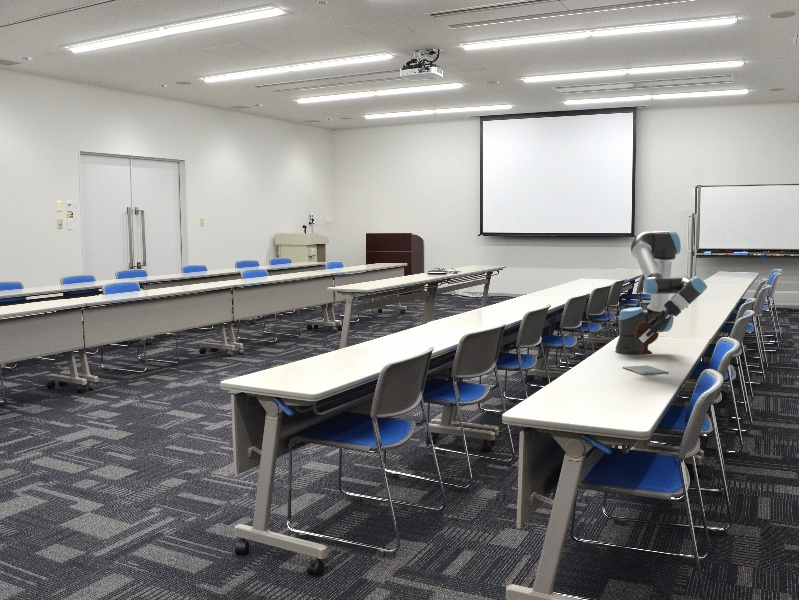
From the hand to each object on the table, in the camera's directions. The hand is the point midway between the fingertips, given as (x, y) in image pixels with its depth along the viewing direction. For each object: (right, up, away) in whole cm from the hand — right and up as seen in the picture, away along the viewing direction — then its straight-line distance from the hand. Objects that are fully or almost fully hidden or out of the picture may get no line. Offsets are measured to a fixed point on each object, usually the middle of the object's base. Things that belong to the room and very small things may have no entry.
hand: (639, 338), depth 327 cm
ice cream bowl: (+3, -7, 0) cm, 7 cm away
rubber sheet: (+3, -15, +1) cm, 15 cm away
